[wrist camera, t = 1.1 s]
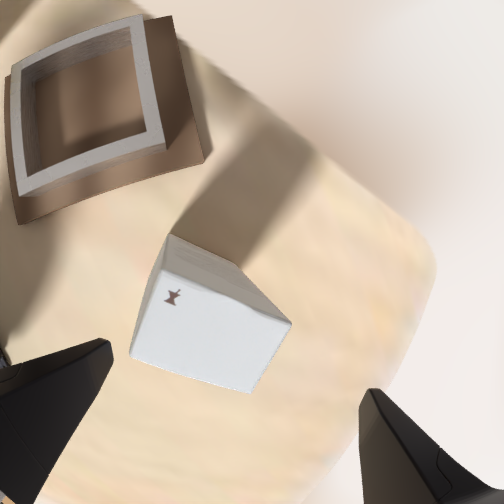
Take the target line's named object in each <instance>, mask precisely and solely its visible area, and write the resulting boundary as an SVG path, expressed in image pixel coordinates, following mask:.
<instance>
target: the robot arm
mask: <svg viewBox="0 0 504 504" xmlns="http://www.w3.org/2000/svg"><path fill="white" fill-rule="evenodd" d="M113 361H114V358H113V352H112V347H111V343H110V341H108V340H106V339H103V338H98V339H95V340H92V341H89V342H86V343H83V344H80V345H77V346H73V347H70V348H67V349H64V350H61V351H58V352H55V353H52V354H48V355H45V356H42V357H39V358H35V359H32V360H29V361H26V362H23V363H19V364H16V365H12V366H9V364H8V362H7V361H6V359H5V357H4V355H3V353H2V351H1V349H0V504H3V503H2V500H3V499H4V497H5V496H7V497H8V498H9V499H11V500H12V501H13V502H14V503H15V504H33V503H34V501H35V500H36V498H37V496H38V494H39V492H40V490H41V489H42V487H43V485H44V483H45V481H46V480H47V478H48V476H49V475H48V474H50V472H51V470H52V469H53V467H54V465H55V463H56V462H57V460H58V458H59V456H60V455H61V453H62V451H63V450H64V448H65V446H66V445H67V443H68V441H69V440H70V438H71V436H72V435H73V433H74V431H75V430H76V428H77V427H78V425H79V423H80V422H81V420H82V418H83V417H84V415H85V414H86V412H87V411H88V409H89V407H90V406H91V404H92V403H93V401H94V400H95V398H96V396H97V395H98V393H99V391H100V389H101V387H102V385H103V383H104V381H105V379H106V377H107V375H108V373H109V371H110V369H111V367H112V365H113ZM359 453H360V464H361V474H362V485H363V498H364V504H504V490H499V489H495V488H492V487H490V486H488V485H487V484H485V483H484V482H482V481H481V480H480V479H478V478H477V477H476V476H474V475H473V474H472V473H470V472H469V471H467V470H466V469H465V468H464V467H462V466H461V465H460V464H459V463H457V462H456V461H455V460H454V459H453V458H452V457H450V455H448V454H447V453H446V452H445V451H444V450H443V449H442V448H440V446H439V445H438V444H437V443H436V442H435V441H434V440H432V439H431V438H430V437H429V436H428V435H427V434H426V433H425V432H424V431H423V430H422V429H421V428H420V427H419V426H418V425H417V424H416V423H415V422H414V421H413V420H412V419H411V418H410V417H409V416H407V415H406V414H405V413H404V412H403V411H402V410H401V409H400V408H399V407H398V406H397V405H396V404H395V403H394V402H393V401H392V400H391V399H390V398H389V397H388V396H387V395H386V394H385V393H384V392H383V391H382V390H381V389H378V388H369V389H368V390H367V391H366V393H365V395H364V397H363V399H362V401H361V403H360V406H359Z"/></svg>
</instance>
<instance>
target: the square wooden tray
mask: <svg viewBox="0 0 504 504" xmlns="http://www.w3.org/2000/svg"><path fill="white" fill-rule="evenodd" d="M143 24H144V31H145V37H146V44H147V50H148V56H149V62H150V68H151V73H152V79H153V84H154V90H155V95H156V100H157V105H158V110H159V115H160V120H161V124H162V129H163V134H164V138H165V143H166V149H167V151H163V152H160V153H156V154H153V155H149V156H146V157H142V158H139V159H136V160H133V161H129V162H126V163H123V164H120V165H117V166H114V167H111V168H108V169H105V170H102V171H100V172H97V173H94V174H91V175H89V176H86V177H83V178H81V179H78V180H76V181H73V182H70V183H68V184H65V185H63V186H61V187H58V188H56V189H53V190H51V191H49V192H46V193H44V194H42V195H40V196H37V197H25V196H19V194H18V188H17V182H16V175H15V168H14V160H13V150H12V138H11V119H10V87H11V74H10V75H9V76H7V77H5V93H4V123H5V142H6V154H7V163H8V172H9V179H10V185H11V192H12V197H13V203H14V208H15V212H16V217H17V222H18V225H22V224H26V223H28V222H31V221H33V220H35V219H37V218H40V217H42V216H44V215H47V214H49V213H52V212H54V211H57V210H59V209H62V208H64V207H67V206H69V205H72V204H74V203H77V202H80V201H82V200H85V199H88V198H90V197H93V196H96V195H99V194H102V193H105V192H107V191H110V190H113V189H116V188H119V187H122V186H125V185H129V184H132V183H135V182H138V181H141V180H145V179H148V178H151V177H155V176H158V175H162V174H165V173H169V172H172V171H176V170H180V169H183V168H187V167H191V166H195V165H199V164H203V163H204V157H203V153H202V149H201V145H200V140H199V136H198V132H197V128H196V124H195V119H194V115H193V111H192V106H191V102H190V98H189V93H188V89H187V84H186V80H185V75H184V71H183V66H182V62H181V57H180V52H179V48H178V43H177V38H176V33H175V28H174V24H173V19H172V16H166V17H161V18H156V19H151V20H147V21H143ZM35 91H36V115H37V128H38V138H39V147H40V155H41V162H42V168H43V170H44V169H46V168H48V167H51V166H53V165H55V164H58V163H60V162H62V161H65V160H67V159H69V158H72V157H74V156H77V155H80V154H82V153H85V152H87V151H90V150H93V149H95V148H98V147H101V146H104V145H107V144H110V143H113V142H116V141H119V140H122V139H125V138H128V137H131V136H134V135H138V134H141V133H144V132H147V130H146V125H145V120H144V115H143V109H142V104H141V99H140V93H139V87H138V81H137V75H136V68H135V62H134V55H133V47H132V46H128V47H125V48H121V49H118V50H115V51H112V52H108V53H105V54H102V55H99V56H97V57H94V58H91V59H88V60H86V61H83V62H80V63H78V64H75V65H73V66H70V67H68V68H66V69H63V70H61V71H59V72H56V73H54V74H52V75H50V76H48V77H46V78H44V79H42V80H40V81H37V82H36V83H35Z"/></svg>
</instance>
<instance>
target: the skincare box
mask: <svg viewBox="0 0 504 504" xmlns="http://www.w3.org/2000/svg"><path fill="white" fill-rule="evenodd" d="M291 326H292V323H291V321H290V320H289V319H288V318H287V317H286V316H285V315H284V314H283V313H282V312H281V311H280V310H279V309H278V308H277V307H276V306H275V305H274V304H273V303H272V302H271V301H270V300H269V299H268V298H267V297H266V296H265V295H264V294H263V293H262V292H261V291H260V290H259V288H257V286H256V285H255V284H254V283H253V282H252V281H251V280H250V279H249V278H248V277H247V276H246V275H245V274H244V273H243V272H242V271H241V270H240V269H239V268H238V267H237V266H236V265H235V264H234V263H232V262H230V261H228V260H226V259H224V258H222V257H220V256H217V255H215V254H213V253H211V252H209V251H207V250H204V249H202V248H200V247H198V246H196V245H194V244H192V243H189V242H187V241H185V240H183V239H181V238H179V237H177V236H174V235H172V234H170V233H169V234H168V235H167V237H166V239H165V241H164V244H163V246H162V248H161V250H160V252H159V254H158V257H157V259H156V261H155V264H154V266H153V269H152V271H151V274H150V276H149V278H148V282H147V285H146V288H145V292H144V295H143V299H142V303H141V306H140V310H139V314H138V318H137V321H136V325H135V329H134V334H133V338H132V342H131V346H130V350H129V355H130V357H132V358H134V359H137V360H140V361H142V362H145V363H147V364H150V365H153V366H156V367H159V368H161V369H164V370H167V371H170V372H173V373H176V374H179V375H183V376H186V377H189V378H193V379H196V380H199V381H203V382H206V383H210V384H213V385H217V386H221V387H224V388H228V389H232V390H236V391H240V392H244V393H247V394H251V393H252V392H253V390H254V388H255V386H256V385H257V383H258V381H259V380H260V378H261V376H262V375H263V373H264V371H265V370H266V368H267V367H268V365H269V363H270V362H271V360H272V358H273V357H274V355H275V353H276V352H277V350H278V348H279V346H280V345H281V343H282V341H283V340H284V338H285V336H286V334H287V333H288V331H289V329H290V328H291Z"/></svg>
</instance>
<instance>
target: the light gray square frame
mask: <svg viewBox="0 0 504 504" xmlns="http://www.w3.org/2000/svg"><path fill="white" fill-rule="evenodd" d="M128 46H132V47H133V55H134V62H135V68H136V75H137V81H138V87H139V93H140V99H141V104H142V109H143V115H144V120H145V125H146V130H147V132H144V133H141V134H138V135H134V136H131V137H128V138H125V139H122V140H119V141H116V142H113V143H110V144H107V145H104V146H101V147H98V148H95V149H93V150H90V151H87V152H85V153H82V154H80V155H77V156H74V157H72V158H69V159H67V160H65V161H62V162H60V163H58V164H55V165H53V166H51V167H48V168H46V169H44V170H43V168H42V162H41V155H40V147H39V138H38V128H37V115H36V91H35V83H36V82H37V81H40V80H42V79H44V78H46V77H48V76H50V75H52V74H54V73H56V72H59V71H61V70H63V69H66V68H68V67H70V66H73V65H75V64H78V63H80V62H83V61H86V60H88V59H91V58H94V57H97V56H99V55H102V54H105V53H108V52H112V51H115V50H118V49H121V48H125V47H128ZM10 119H11V138H12V150H13V160H14V168H15V175H16V182H17V188H18V194H19V196H25V197H37V196H40V195H42V194H44V193H46V192H49V191H51V190H53V189H56V188H58V187H61V186H63V185H65V184H68V183H70V182H73V181H76V180H78V179H81V178H83V177H86V176H89V175H91V174H94V173H97V172H100V171H102V170H105V169H108V168H111V167H114V166H117V165H120V164H123V163H126V162H129V161H133V160H136V159H139V158H142V157H146V156H149V155H153V154H156V153H160V152H163V151H167V149H166V143H165V138H164V134H163V129H162V124H161V120H160V115H159V110H158V105H157V100H156V95H155V90H154V84H153V79H152V73H151V68H150V62H149V56H148V50H147V44H146V37H145V31H144V24H143V16H142V14H140V15H135V16H132V17H128V18H124V19H121V20H117V21H114V22H110V23H107V24H104V25H101V26H98V27H95V28H92V29H89V30H87V31H84V32H81V33H79V34H76V35H74V36H71V37H69V38H66V39H64V40H62V41H59V42H57V43H55V44H53V45H51V46H48V47H46V48H44V49H42V50H40V51H38V52H36V53H34V54H32V55H30V56H28V57H27V58H25V59H23V60H21V61H19V62H17V63H16V64H14V65H12V68H11V87H10Z"/></svg>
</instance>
